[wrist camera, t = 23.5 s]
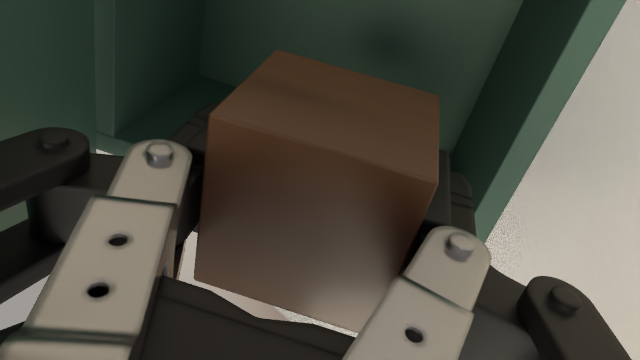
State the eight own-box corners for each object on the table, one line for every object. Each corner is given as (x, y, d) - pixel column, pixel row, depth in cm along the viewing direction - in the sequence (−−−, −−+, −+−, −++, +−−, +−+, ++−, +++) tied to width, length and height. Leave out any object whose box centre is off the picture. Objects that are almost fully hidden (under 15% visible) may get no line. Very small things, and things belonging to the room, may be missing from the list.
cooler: (580, -81, 22) (664, -64, 14) (459, 167, 30) (466, 275, 21) (215, -189, 23) (86, -236, 15) (188, 78, 31) (93, 148, 22)
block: (390, 226, 15) (373, 339, 11) (254, 184, 15) (192, 280, 11) (440, 94, 12) (439, 182, 8) (276, 48, 12) (207, 113, 9)
